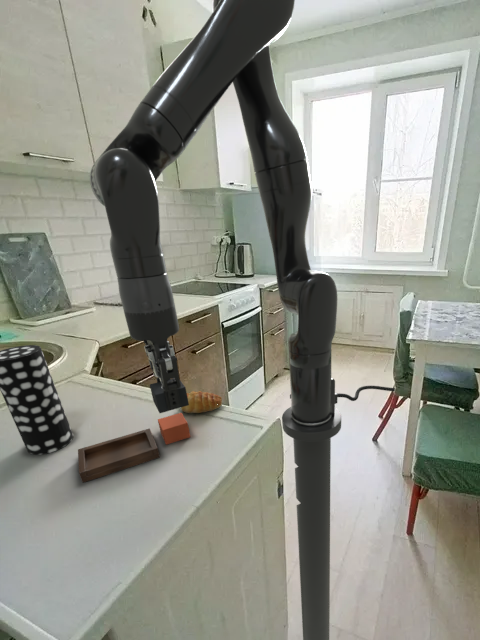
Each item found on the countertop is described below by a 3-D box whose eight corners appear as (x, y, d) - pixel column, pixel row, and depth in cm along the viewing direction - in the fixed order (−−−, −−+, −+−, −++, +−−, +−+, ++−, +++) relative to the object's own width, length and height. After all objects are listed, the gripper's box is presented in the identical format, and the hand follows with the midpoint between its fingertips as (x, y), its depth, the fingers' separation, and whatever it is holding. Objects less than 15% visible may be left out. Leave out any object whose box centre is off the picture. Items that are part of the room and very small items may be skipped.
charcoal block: (181, 394, 65) (178, 377, 63) (189, 405, 61) (185, 387, 60) (153, 401, 63) (149, 384, 61) (159, 413, 59) (155, 395, 57)
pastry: (223, 399, 88) (221, 385, 86) (221, 412, 82) (219, 398, 80) (185, 402, 87) (182, 388, 85) (180, 416, 81) (177, 401, 79)
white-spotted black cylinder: (70, 427, 79) (38, 342, 70) (76, 443, 73) (42, 352, 64) (26, 441, 74) (-14, 352, 66) (28, 460, 68) (-15, 364, 60)
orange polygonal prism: (184, 426, 77) (181, 412, 75) (190, 437, 73) (187, 422, 71) (160, 433, 75) (157, 419, 73) (166, 444, 71) (162, 430, 69)
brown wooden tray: (151, 437, 74) (149, 428, 73) (160, 457, 67) (157, 448, 66) (81, 458, 68) (77, 449, 67) (82, 483, 61) (78, 473, 61)
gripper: (185, 309, 50) (204, 412, 58) (163, 294, 62) (181, 382, 69) (130, 319, 47) (157, 426, 54) (117, 301, 58) (141, 392, 66)
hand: (170, 401), depth 62 cm, fingers closed on charcoal block, 5 cm apart
